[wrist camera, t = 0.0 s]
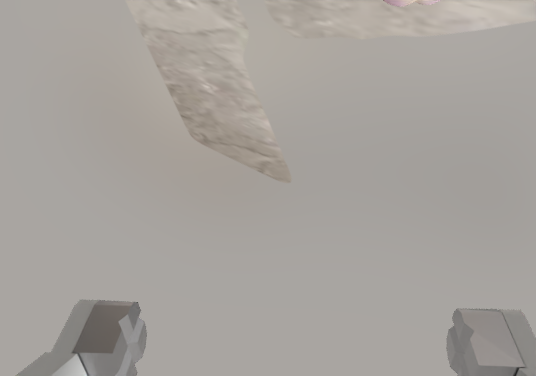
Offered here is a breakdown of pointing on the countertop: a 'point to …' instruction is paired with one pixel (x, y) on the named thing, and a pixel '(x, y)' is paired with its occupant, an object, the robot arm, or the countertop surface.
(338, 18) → the countertop surface
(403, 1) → the decorative fruit
